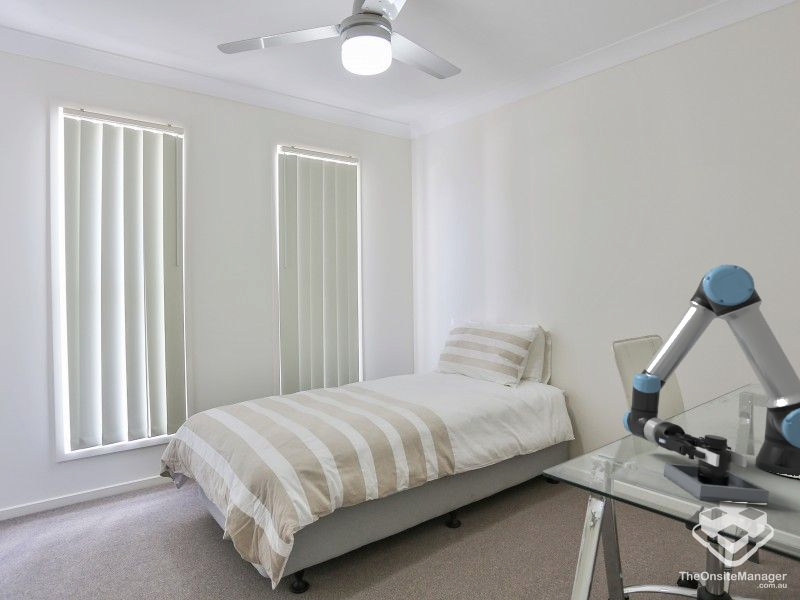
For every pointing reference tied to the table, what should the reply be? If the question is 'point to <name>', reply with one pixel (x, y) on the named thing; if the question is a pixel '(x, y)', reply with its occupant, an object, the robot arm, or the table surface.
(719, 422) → the table surface
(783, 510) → the table surface
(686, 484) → the charcoal tray
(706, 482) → the supplement bottle
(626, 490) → the table surface
